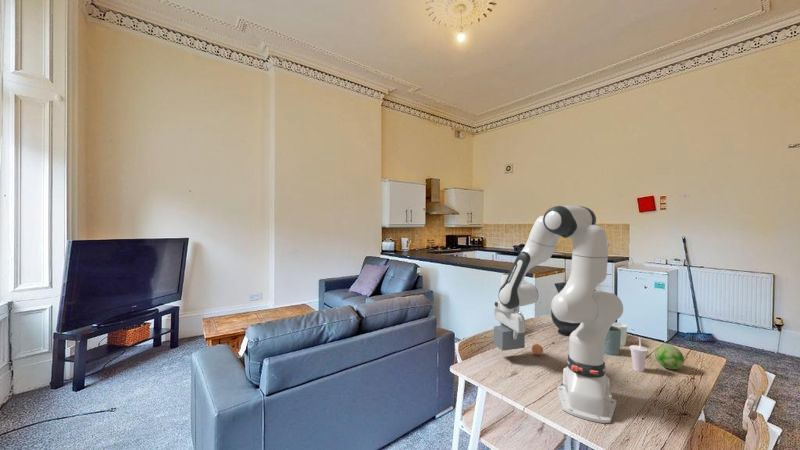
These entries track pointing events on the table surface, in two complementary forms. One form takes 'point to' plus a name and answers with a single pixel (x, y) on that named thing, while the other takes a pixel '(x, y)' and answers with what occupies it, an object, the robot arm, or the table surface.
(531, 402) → the table surface
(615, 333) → the drinking glass
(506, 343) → the gray rectangular block
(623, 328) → the white cup
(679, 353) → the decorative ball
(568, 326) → the pitcher
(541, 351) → the ball
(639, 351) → the smoothie
